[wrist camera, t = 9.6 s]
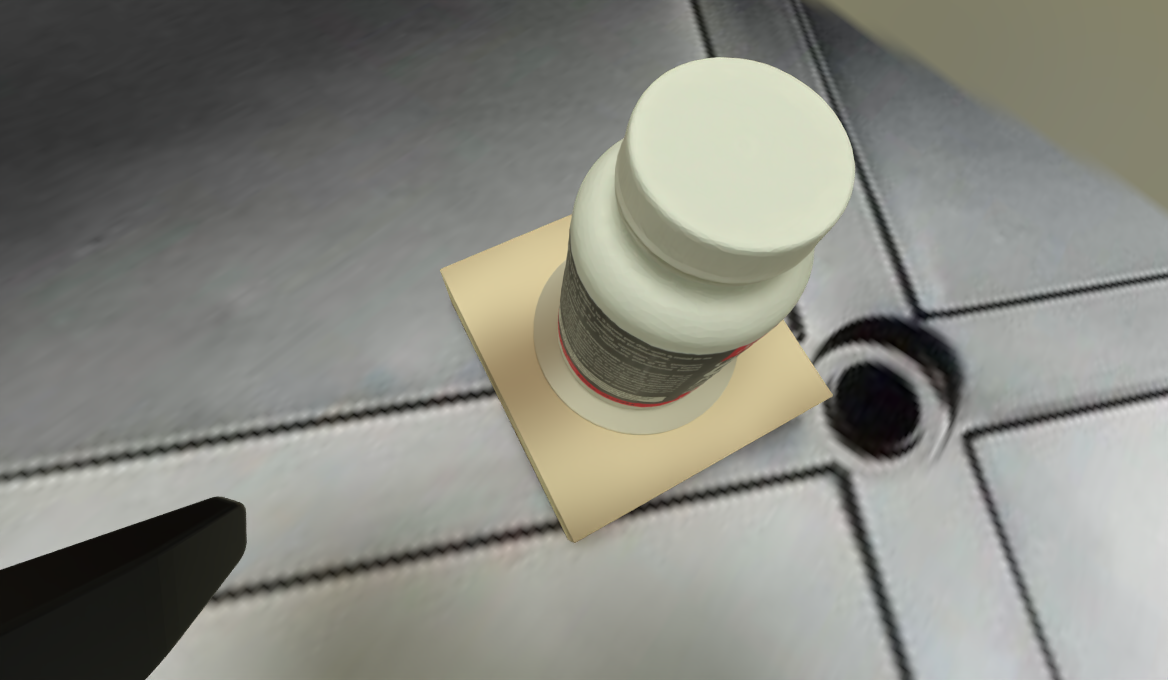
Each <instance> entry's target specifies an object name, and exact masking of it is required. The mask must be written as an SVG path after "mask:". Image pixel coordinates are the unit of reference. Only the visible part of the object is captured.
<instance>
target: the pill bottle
mask: <svg viewBox="0 0 1168 680" xmlns="http://www.w3.org/2000/svg"><path fill="white" fill-rule="evenodd" d="M854 178H855V163H854V158H853V151H852V147H851V144H850V141H849V139H848V136H847V134H846V132H845V130H844V128H843V126H842V124H841V122H840V121H839V119H838V117H837V116H836V114H835V113H834V112H833V110H832V109H831V108H830V107H829V106H828V104H827V103H826V102H825V101H824V100H823V99H822V98H821V97H820V96H819V95H818V94H816V93H815V92H814V91H813V90H812V89H811V88H809V87H808V86H806V85H805V84H804V83H802V82H801V81H799V80H798V79H796V78H794V77H793V76H791V75H789V74H787V73H785V72H783V71H781V70H779V69H777V68H774V67H772V66H769V65H767V64H764V63H760V62H756V61H751V60H746V59H739V58H719V57H717V58H708V59H702V60H696V61H692V62H689V63H686V64H683V65H680V66H678V67H676V68H674V69H672V70H669V71H668V72H666V73H665V74H663V75H662V76H661V77H659V78H658V79H657V80H655V81H654V82H653V83H652V84H651V85H650V86H649V88H648V89H647V90H646V91H645V92H644V93H643V95H642V96H641V98H640V99H639V101H638V102H637V104H636V106H635V108H634V110H633V112H632V114H631V117H630V120H629V123H628V126H627V130H626V134H625V137H624V139H622V140H620V141H619V142H617V143H616V144H615V145H613V146H612V147H611V148H609V149H608V150H607V151H606V152H605V153H604V154H603V155H602V156H601V157H600V158H599V159H598V160H597V161H596V162H595V163H594V165H593V166H592V168H591V169H590V170H589V172H588V174H587V175H586V177H585V179H584V180H583V182H582V184H581V187H580V189H579V192H578V194H577V197H576V200H575V203H574V208H573V213H572V218H571V223H570V229H569V241H568V252H567V258H566V266H565V270H564V275H563V283H562V288H561V296H560V306H559V313H558V341H559V346H560V349H561V352H562V355H563V358H564V360H565V362H566V364H567V366H568V368H569V369H570V371H571V372H572V374H573V375H574V377H575V378H576V380H577V381H578V382H579V383H580V384H581V385H582V386H583V387H585V388H586V389H587V390H588V391H589V392H590V393H591V394H593V395H594V396H596V397H597V398H599V399H601V400H603V401H605V402H607V403H610V404H612V405H615V406H619V407H622V408H626V409H636V410H649V409H655V408H660V407H664V406H668V405H670V404H673V403H675V402H677V401H678V400H680V399H682V398H684V397H685V396H687V395H688V394H690V393H691V392H692V391H694V390H695V389H697V388H698V387H700V386H701V385H702V384H704V383H705V382H706V381H707V380H708V379H710V378H711V377H712V376H713V375H715V374H716V373H718V372H719V371H720V370H721V369H722V368H723V367H724V366H726V365H727V364H728V363H730V362H731V361H732V360H734V359H735V358H736V357H738V356H739V355H740V354H741V353H742V352H744V351H745V350H747V349H748V348H749V347H750V346H752V345H753V344H754V343H755V342H757V341H758V340H759V339H761V338H762V337H763V336H765V335H766V334H767V333H768V332H770V331H771V330H772V329H773V328H775V327H776V326H777V325H778V324H779V323H780V322H781V321H782V320H783V319H784V318H785V317H786V316H787V315H788V314H789V313H790V311H791V310H792V309H793V307H794V306H795V305H796V303H797V302H798V300H799V299H800V297H801V295H802V293H803V291H804V289H805V287H806V285H807V282H808V280H809V277H810V273H811V269H812V265H813V259H814V248H815V246H816V245H817V243H818V242H819V241H820V240H821V239H822V238H823V237H824V236H825V235H826V234H827V233H828V232H829V230H830V229H831V228H832V227H833V226H834V225H835V224H836V222H837V221H838V220H839V218H840V217H841V215H842V214H843V212H844V210H845V208H846V207H847V204H848V202H849V200H850V197H851V194H852V189H853V183H854Z"/></svg>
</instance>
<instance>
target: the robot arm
mask: <svg viewBox="0 0 1168 680" xmlns="http://www.w3.org/2000/svg"><path fill="white" fill-rule="evenodd" d="M246 544H247V534H246V508H245V507H244V505H243V504H242V503H240V502H237V501H234V500H231V499H228V498H225V497H213V498H209V499H206V500H203V501H201V502H198V503H195V504H192V505H189V506H186V507H183V508H180V509H177V510H174V511H171V512H168V513H165V514H163V515H160V516H157V517H154V518H151V519H148V520H145V521H142V522H139V523H136V524H133V525H130V526H127V527H125V528H122V529H119V530H116V531H113V532H110V533H107V534H104V535H101V536H98V537H95V538H92V539H89V540H87V541H84V542H81V543H78V544H75V545H72V546H69V547H66V548H63V549H60V550H57V551H54V552H52V553H49V554H46V555H43V556H40V557H37V558H34V559H31V560H28V561H25V562H22V563H19V564H16V565H14V566H11V567H8V568H5V569H2V570H0V680H145V679H146V678H147V677H148V676H149V675H150V674H151V673H152V672H153V671H154V669H155V668H156V667H157V666H158V665H159V664H160V663H161V661H162V660H163V659H164V658H165V657H166V656H167V655H168V653H169V652H170V651H171V650H172V648H173V647H174V646H175V645H176V643H177V642H178V641H179V640H180V638H181V637H182V636H183V634H184V633H185V632H186V631H187V629H188V628H189V627H190V625H191V624H192V623H193V621H194V620H195V619H196V617H197V616H198V615H199V613H200V612H201V611H202V610H203V608H204V607H205V606H206V604H207V603H208V602H209V600H210V599H211V598H212V596H213V595H214V594H215V592H216V591H217V590H218V589H219V587H220V586H221V585H222V583H223V582H224V581H225V579H226V578H227V577H228V575H229V574H230V573H231V571H232V570H233V569H234V568H235V566H236V565H237V564H238V562H239V561H240V559H241V558H242V556H243V554H244V551H245V548H246Z"/></svg>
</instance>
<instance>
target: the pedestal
mask: <svg viewBox="0 0 1168 680" xmlns="http://www.w3.org/2000/svg"><path fill="white" fill-rule="evenodd" d="M571 218H572V215H569V216H567V217H564V218H562V219H560V220H557V221H555V222H552V223H550V224H548V225H545V226H543V227H540V228H538V229H536V230H533V231H531V232H528V233H526V234H524V235H521V236H519V237H516V238H514V239H512V240H509V241H507V242H504V243H502V244H500V245H497V246H495V247H492V248H490V249H488V250H485V251H483V252H480V253H478V254H476V255H473V256H471V257H468V258H466V259H464V260H461V261H459V262H456V263H454V264H452V265H449V266H447V267H444V268H442V269H440V271H441V274H442V277H443V280H444V283H445V285H446V288H447V291H448V294H449V296H450V299H451V302H452V304H453V306H454V308H455V310H456V312H457V314H458V316H459V318H460V320H461V323H462V325H463V327H464V329H465V331H466V333H467V335H468V337H469V339H470V341H471V343H472V345H473V347H474V349H475V351H476V353H477V355H478V357H479V359H480V361H481V363H482V365H483V367H484V369H485V371H486V373H487V375H488V378H489V380H490V382H491V384H492V386H493V388H494V390H495V392H496V394H497V396H498V398H499V400H500V402H501V404H502V406H503V408H504V410H505V412H506V414H507V416H508V418H509V420H510V422H511V424H512V426H513V428H514V430H515V433H516V435H517V437H518V439H519V441H520V443H521V445H522V447H523V449H524V451H525V453H526V455H527V457H528V459H529V461H530V463H531V465H532V467H533V469H534V471H535V473H536V475H537V477H538V479H539V481H540V483H541V485H542V488H543V490H544V492H545V494H546V496H547V498H548V500H549V502H550V504H551V506H552V508H553V510H554V512H555V514H556V516H557V518H558V520H559V522H560V524H561V526H562V528H563V530H564V532H565V534H566V536H567V538H568V540H570V541H572V542H574V543H576V542H578V541H579V540H581V539H583V538H585V537H586V536H588V535H590V534H592V533H593V532H595V531H597V530H599V529H600V528H602V527H604V526H606V525H607V524H609V523H611V522H613V521H614V520H616V519H618V518H620V517H621V516H623V515H625V514H627V513H628V512H630V511H632V510H634V509H635V508H637V507H639V506H641V505H642V504H644V503H646V502H648V501H649V500H651V499H653V498H655V497H656V496H658V495H660V494H662V493H663V492H665V491H667V490H669V489H670V488H672V487H674V486H676V485H677V484H679V483H681V482H683V481H684V480H686V479H688V478H690V477H691V476H693V475H695V474H697V473H698V472H700V471H702V470H704V469H705V468H707V467H709V466H711V465H713V464H714V463H716V462H718V461H720V460H721V459H723V458H725V457H727V456H728V455H730V454H732V453H734V452H735V451H737V450H739V449H741V448H742V447H744V446H746V445H748V444H749V443H751V442H753V441H755V440H756V439H758V438H760V437H762V436H763V435H765V434H767V433H769V432H770V431H772V430H774V429H776V428H777V427H779V426H781V425H783V424H784V423H786V422H788V421H790V420H791V419H793V418H795V417H797V416H798V415H800V414H802V413H804V412H805V411H807V410H809V409H811V408H812V407H814V406H816V405H818V404H819V403H821V402H823V401H825V400H826V399H828V398H830V397H832V396H833V395H832V393H831V392H830V390H829V389H828V387H827V386H826V384H825V383H824V381H823V380H822V378H821V377H820V375H819V374H818V372H817V370H816V369H815V367H814V366H813V364H812V363H811V361H810V360H809V358H808V357H807V355H806V354H805V352H804V351H803V349H802V348H801V346H800V344H799V343H798V341H797V340H796V338H795V337H794V335H793V334H792V332H791V331H790V329H789V328H788V326H787V325H786V323H785V322H784V320H782V321H781V322H780V323H779V324H778V325H777V326H776V327H775V328H773V329H772V330H771V331H770V332H768V333H767V334H766V335H765V336H763V337H762V338H761V339H759V340H758V341H757V342H755V343H754V344H753V345H752V346H750V347H749V348H748V349H747V350H745V351H744V352H742V353H741V354H740V355H739V356H738V357H736V358H735V359H734V360H732V361H731V362H730V363H728V364H727V365H726V366H724V367H723V368H722V369H721V370H720V371H719V372H718V373H716V374H715V375H713V376H712V377H711V378H710V379H708V380H707V381H706V382H705V383H704V384H702V385H701V386H700V387H698V388H697V389H695V390H694V391H692V392H691V393H690V394H688V395H687V396H685V397H684V398H682V399H680V400H678V401H677V402H675V403H673V404H670V405H668V406H664V407H660V408H655V409H649V410H636V409H626V408H622V407H619V406H615V405H612V404H610V403H607V402H605V401H603V400H601V399H599V398H597V397H596V396H594V395H593V394H591V393H590V392H589V391H588V390H587V389H586V388H585V387H583V386H582V385H581V384H580V383H579V382H578V381H577V380H576V378H575V377H574V375H573V374H572V372H571V371H570V369H569V368H568V366H567V364H566V362H565V360H564V358H563V355H562V352H561V349H560V346H559V341H558V313H559V306H560V296H561V288H562V283H563V275H564V270H565V266H566V258H567V252H568V241H569V229H570V223H571Z"/></svg>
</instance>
